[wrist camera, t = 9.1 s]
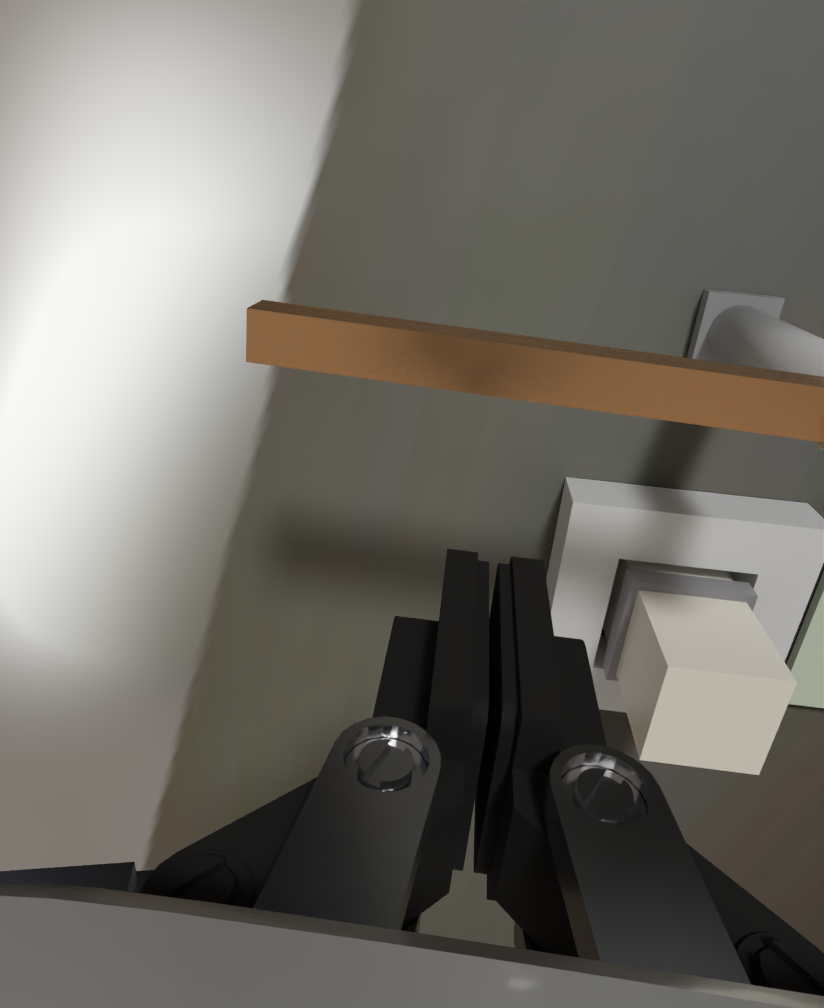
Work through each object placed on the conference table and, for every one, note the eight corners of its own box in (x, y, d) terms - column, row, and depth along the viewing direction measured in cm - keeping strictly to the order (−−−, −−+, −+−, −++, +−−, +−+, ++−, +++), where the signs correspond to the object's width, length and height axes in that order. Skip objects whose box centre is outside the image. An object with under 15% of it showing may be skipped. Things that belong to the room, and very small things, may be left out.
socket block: (880, 305, 30) (1108, 376, 19) (738, 691, 39) (837, 885, 28) (603, 279, 30) (672, 333, 20) (529, 665, 40) (547, 846, 29)
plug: (726, 549, 35) (811, 675, 26) (697, 640, 38) (765, 783, 29) (614, 537, 36) (660, 657, 27) (593, 628, 38) (628, 765, 29)
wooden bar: (946, 362, 19) (994, 380, 17) (898, 466, 21) (938, 494, 19) (263, 270, 20) (241, 278, 18) (260, 377, 21) (240, 395, 19)
